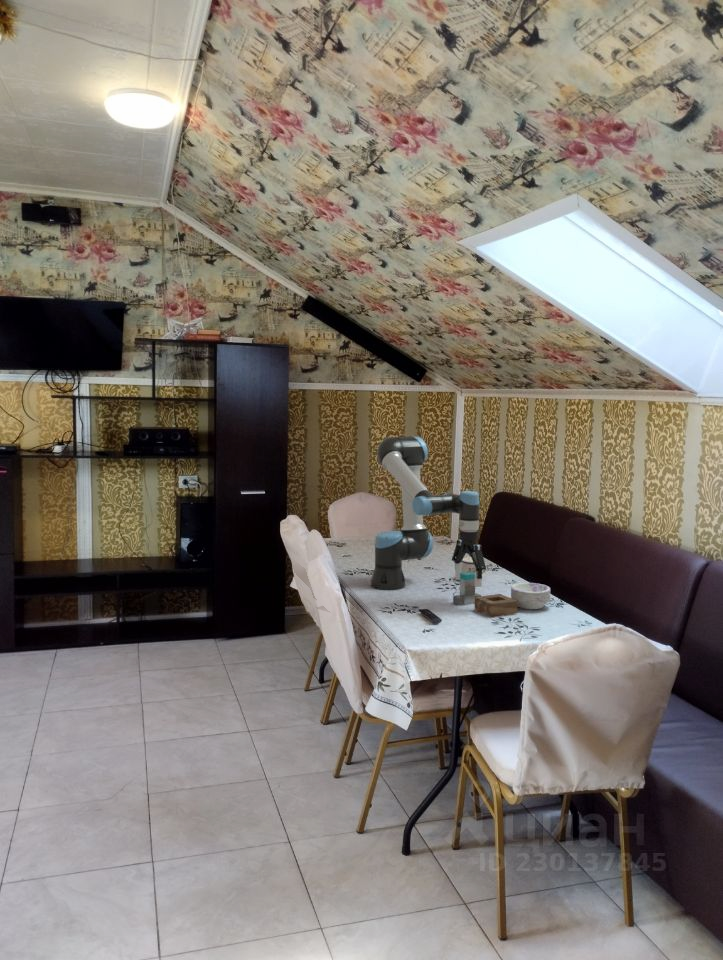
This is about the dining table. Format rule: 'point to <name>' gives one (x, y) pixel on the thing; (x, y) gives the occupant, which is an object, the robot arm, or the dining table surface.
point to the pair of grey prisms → (461, 599)
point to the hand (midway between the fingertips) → (468, 582)
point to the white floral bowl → (530, 595)
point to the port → (495, 605)
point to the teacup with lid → (469, 565)
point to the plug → (467, 587)
